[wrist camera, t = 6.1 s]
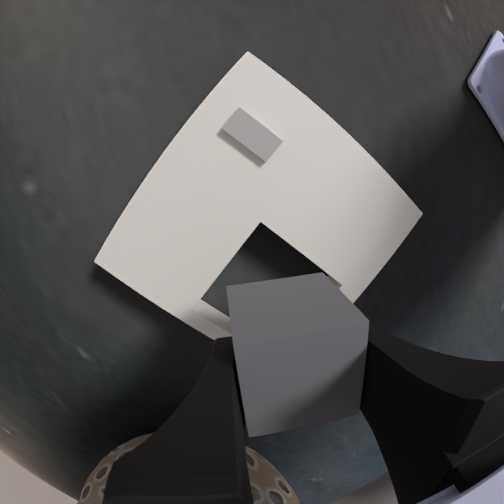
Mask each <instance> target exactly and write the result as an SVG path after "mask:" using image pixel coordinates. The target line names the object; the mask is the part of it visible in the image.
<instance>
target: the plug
mask: <svg viewBox="0 0 504 504" xmlns="http://www.w3.org/2000/svg"><path fill="white" fill-rule="evenodd" d="M226 288H227V297H228V306H229V315H230V323H231V332H232V340H233V348H234V354H235V360H236V366H237V372H238V378H239V384H240V390H241V396H242V401H243V407H244V413H245V418H246V424H247V429H248V435H249V437H254V436H261V435H267V434H273V433H279V432H284V431H290V430H295V429H300V428H304V427H309V426H313V425H318V424H322V423H326V422H330V421H334V420H338V419H342V418H345V417H349V416H353V415H356V414H359V409H360V402H361V395H362V388H363V380H364V372H365V363H366V353H367V343H368V331H369V320H368V319H367V318H366V317H365V316H364V315H363V313H362V312H361V311H360V310H359V309H358V308H357V307H356V306H355V305H354V304H353V303H352V302H351V301H350V300H349V299H348V298H347V297H346V296H345V295H344V294H343V293H342V292H341V291H340V290H339V289H338V288H337V287H336V285H335V284H334V283H333V282H332V281H331V280H330V279H329V278H328V277H327V276H326V275H325V274H324V273H323V272H321V273H315V274H308V275H301V276H295V277H288V278H281V279H274V280H267V281H260V282H253V283H246V284H239V285H231V286H226Z"/></svg>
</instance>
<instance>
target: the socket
mask: <svg viewBox="0 0 504 504" xmlns="http://www.w3.org/2000/svg"><path fill="white" fill-rule="evenodd" d="M422 214H423V213H422V212H421V211H420V210H419V208H418V207H417V206H416V205H415V204H414V202H413V201H412V200H411V199H410V198H409V197H408V196H407V194H406V193H405V192H404V191H403V190H402V189H401V188H400V186H399V185H398V184H397V183H396V182H395V181H394V180H393V179H392V178H391V177H390V175H389V174H388V173H387V172H386V171H385V170H384V169H383V168H382V167H381V166H380V165H379V164H378V163H377V162H376V161H375V160H374V159H373V158H372V157H371V156H370V155H369V154H368V153H367V152H366V151H365V150H364V149H363V148H362V147H361V146H360V145H359V144H358V143H357V142H356V141H355V140H354V139H353V138H352V137H351V136H350V135H349V134H348V133H347V132H346V131H345V130H344V129H343V128H342V127H341V126H339V125H338V124H337V123H336V122H335V121H334V120H333V119H332V118H331V117H330V116H328V115H327V114H326V113H325V112H324V111H323V110H322V109H321V108H319V107H318V106H317V105H316V104H315V103H314V102H312V101H311V100H310V99H309V98H308V97H306V96H305V95H304V94H303V93H302V92H300V91H299V90H298V89H297V88H296V87H294V86H293V85H292V84H291V83H289V82H288V81H287V80H286V79H284V78H283V77H282V76H280V75H279V74H278V73H277V72H275V71H274V70H273V69H271V68H270V67H269V66H267V65H266V64H265V63H263V62H262V61H260V60H259V59H258V58H256V57H255V56H254V55H252V54H251V53H249V52H248V51H247V52H246V53H245V55H244V56H243V57H242V58H241V59H240V60H239V61H238V62H237V63H236V64H235V65H234V66H233V67H232V69H231V70H230V71H229V72H228V73H227V74H226V75H225V76H224V78H223V79H222V80H221V81H220V82H219V83H218V84H217V86H216V87H215V88H214V89H213V90H212V91H211V93H210V94H209V95H208V96H207V97H206V98H205V100H204V101H203V102H202V103H201V105H200V106H199V107H198V108H197V109H196V111H195V112H194V113H193V114H192V116H191V117H190V118H189V119H188V121H187V122H186V123H185V124H184V126H183V127H182V128H181V130H180V131H179V132H178V134H177V135H176V136H175V138H174V139H173V140H172V142H171V143H170V144H169V146H168V147H167V148H166V150H165V151H164V152H163V154H162V155H161V156H160V158H159V159H158V161H157V162H156V163H155V165H154V166H153V168H152V169H151V171H150V172H149V173H148V175H147V176H146V178H145V179H144V181H143V182H142V184H141V185H140V187H139V188H138V190H137V191H136V193H135V194H134V196H133V197H132V199H131V200H130V202H129V203H128V205H127V207H126V208H125V210H124V211H123V213H122V215H121V216H120V218H119V219H118V221H117V223H116V224H115V226H114V228H113V229H112V231H111V233H110V234H109V236H108V238H107V239H106V241H105V243H104V244H103V246H102V248H101V250H100V251H99V253H98V255H97V257H96V259H95V260H94V262H95V263H97V264H98V265H99V266H101V267H102V268H104V269H105V270H106V271H108V272H109V273H111V274H112V275H113V276H115V277H116V278H118V279H119V280H120V281H122V282H123V283H125V284H126V285H128V286H129V287H131V288H132V289H134V290H135V291H137V292H138V293H140V294H141V295H143V296H144V297H146V298H147V299H149V300H150V301H152V302H153V303H155V304H156V305H158V306H159V307H161V308H162V309H164V310H166V311H167V312H169V313H170V314H172V315H173V316H175V317H177V318H178V319H180V320H181V321H183V322H185V323H186V324H188V325H190V326H191V327H193V328H195V329H196V330H198V331H199V332H201V333H203V334H205V335H206V336H208V337H210V338H211V339H213V340H215V339H216V338H222V337H230V336H232V332H231V323H230V317H228V316H226V315H225V314H223V313H222V312H220V311H218V310H217V309H215V308H214V307H212V306H211V305H209V304H207V303H206V302H204V301H203V300H201V297H202V296H203V295H204V293H205V292H206V291H207V290H208V288H209V287H210V286H211V284H212V283H213V282H214V281H215V279H216V278H217V277H218V275H219V274H220V273H221V272H222V270H223V269H224V268H225V266H226V265H227V264H228V263H229V261H230V260H231V259H232V258H233V256H234V255H235V254H236V252H237V251H238V250H239V249H240V247H241V246H242V245H243V243H244V242H245V241H246V240H247V238H248V237H249V236H250V235H251V233H252V232H253V231H254V230H255V228H256V227H257V226H258V224H259V223H260V222H261V223H263V224H264V225H265V226H267V227H268V228H269V229H271V230H272V231H273V232H275V233H276V234H277V235H278V236H280V237H281V238H282V239H284V240H285V241H286V242H288V243H289V244H290V245H292V246H293V247H294V248H295V249H297V250H298V251H299V252H301V253H302V254H303V255H304V256H306V257H307V258H308V259H310V260H311V261H312V262H313V263H315V264H316V265H317V266H319V267H320V268H321V269H322V270H324V271H325V272H326V273H327V274H329V275H328V276H327V277H328V278H329V279H330V280H331V281H332V282H333V283H334V284H335V285H336V287H337V288H338V289H339V290H340V291H341V292H342V293H343V294H344V295H345V296H346V297H347V298H348V299H349V300H350V301H351V302H352V303H354V302H355V301H356V299H357V298H358V297H359V296H360V295H361V294H362V292H363V291H364V290H365V289H366V288H367V286H368V285H369V284H370V283H371V281H372V280H373V279H374V278H375V277H376V275H377V274H378V273H379V272H380V270H381V269H382V268H383V267H384V265H385V264H386V263H387V261H388V260H389V259H390V258H391V256H392V255H393V254H394V252H395V251H396V250H397V249H398V247H399V246H400V245H401V243H402V242H403V241H404V239H405V238H406V237H407V235H408V234H409V232H410V231H411V230H412V228H413V227H414V226H415V224H416V223H417V221H418V220H419V219H420V217H421V216H422Z"/></svg>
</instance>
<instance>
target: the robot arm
mask: <svg viewBox="0 0 504 504" xmlns="http://www.w3.org/2000/svg"><path fill="white" fill-rule="evenodd" d="M468 86H469V88H470V89H471V91H472V92H473V93H474V95H475V96H476V98H477V99H478V101H479V102H480V104H481V105H482V107H483V108H484V110H485V112H486V113H487V115H488V116H489V118H490V120H491V121H492V123H493V125H494V126H495V128H496V130H497V131H498V133H499V135H500V137H501V138H502V140H503V142H504V36H503V35H502V33H501V32H500V31H495V32H494V33H493V35H492V37H491V39H490V41H489V43H488V44H487V46H486V48H485V50H484V52H483V54H482V55H481V57H480V59H479V61H478V62H477V64H476V66H475V68H474V69H473V71H472V73H471V74H470V76H469V78H468ZM477 89H478V90H477ZM360 410H361V411H362V413H363V415H364V416H365V418H366V420H367V421H368V423H369V425H370V427H371V429H372V431H373V433H374V435H375V438H376V440H377V443H378V445H379V447H380V450H381V452H382V455H383V458H384V460H385V463H386V465H387V468H388V471H389V474H390V477H391V480H392V483H393V486H394V489H395V493H396V497H397V500H398V504H504V361H482V360H473V359H466V358H460V357H455V356H450V355H446V354H442V353H438V352H435V351H432V350H429V349H426V348H423V347H420V346H417V345H415V344H412V343H410V342H407V341H405V340H403V339H400V338H398V337H396V336H394V335H392V334H390V333H388V332H386V331H384V330H382V329H380V328H378V327H376V326H374V325H372V324H370V323H369V331H368V343H367V353H366V363H365V372H364V380H363V388H362V395H361V402H360ZM102 504H254V502H253V496H252V490H251V484H250V478H249V472H248V466H247V459H246V447H245V422H244V407H243V401H242V396H241V390H240V384H239V378H238V372H237V366H236V360H235V354H234V348H233V340H232V336H230V337H222V338H216V339H215V340H214V343H213V346H212V349H211V352H210V354H209V357H208V359H207V361H206V363H205V365H204V367H203V369H202V371H201V373H200V375H199V377H198V379H197V380H196V382H195V384H194V385H193V387H192V389H191V390H190V392H189V393H188V395H187V396H186V398H185V399H184V400H183V402H182V403H181V404H180V406H179V407H178V408H177V409H176V410H175V412H174V413H173V414H172V415H171V416H170V417H169V418H168V420H167V421H166V422H165V423H164V424H163V425H162V426H161V427H160V428H159V429H158V430H156V431H155V432H154V433H153V434H152V435H151V436H150V437H149V438H147V439H146V440H145V441H144V442H143V443H141V444H140V445H139V446H137V447H136V448H134V449H133V450H131V451H130V452H128V453H127V454H125V455H124V456H122V457H121V458H119V459H118V460H116V461H114V462H113V465H112V468H111V470H110V473H109V475H108V478H107V482H106V486H105V491H104V496H103V501H102Z"/></svg>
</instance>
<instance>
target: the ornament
mask: <svg viewBox="0 0 504 504" xmlns="http://www.w3.org/2000/svg"><path fill="white" fill-rule="evenodd" d="M152 434H153V433H150V434H147V435H143V436H140V437H136V438H134V439H132V440H130V441H128V442H126V443H124V444H122V445H120V446H118V447H117V448H118V449H117V448H116V449H117V450H116V449H115V450H116V451H114V450H113V451H114V452H113V451H111V452H110V453H109V454H108V455H107V456H106V457H105V458H104V459H102V460H101V462H100V463H99V464H98V465H97V467H96V468H95V469H94V470H93V472H92V473H91V474H90V476H89V477H88V479H87V481H86V483H85V484H84V486H83V489H82V492H81V495H80V498H79V501H78V503H77V504H102V501H103V496H104V488H105V486H106V482H107V478H108V475H109V473H110V470H111V468H112V465H113V462H114V461H116V460H118V459H119V457H120V455H121V457H122V456H124V455H125V454H127V453H128V452H130V451H131V450H133V449H134V448H136V447H137V446H139V445H140V444H141V443H143V442H144V441H145V440H146V439H147V438H149V437H150V436H151V435H152ZM119 447H120V448H119ZM245 447H246V446H245ZM121 457H120V458H121ZM246 459H247V466H248V472H249V478H250V484H251V490H252V494H255V493H256V494H258V495H260V499H259V500H257V501H253V502H254V504H300V502H299V499H298V498H297V496H296V495H295V493H294V491H293V490H292V488H291V487H290V485H289V484H288V483H287V481H286V480H285V479H284V477H283V476H282V475H281V474H280V472H279V471H278V470H277V469H276V468H275V466H273V465H272V464H271V463H270V462H269V461H267V460H266V459H265V458H264V457H263V456H261V455H260V454H259V453H257V452H256V451H254V450H253V449H251V448H248V447H246ZM279 480H280V481H282V482H283V483H284V484H285V485H286V487H287V488H288V489H286V488H284V487H283V486H282V484H281V483H280V481H279ZM86 487H87V489H86V493H85V494H84V496H83V492H84V490H85V488H86ZM82 496H83V497H82ZM269 496H273V497H274V498H276V499H277V500H279V502H278V503H273V501H272V500H271V499H270V498H269Z"/></svg>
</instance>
